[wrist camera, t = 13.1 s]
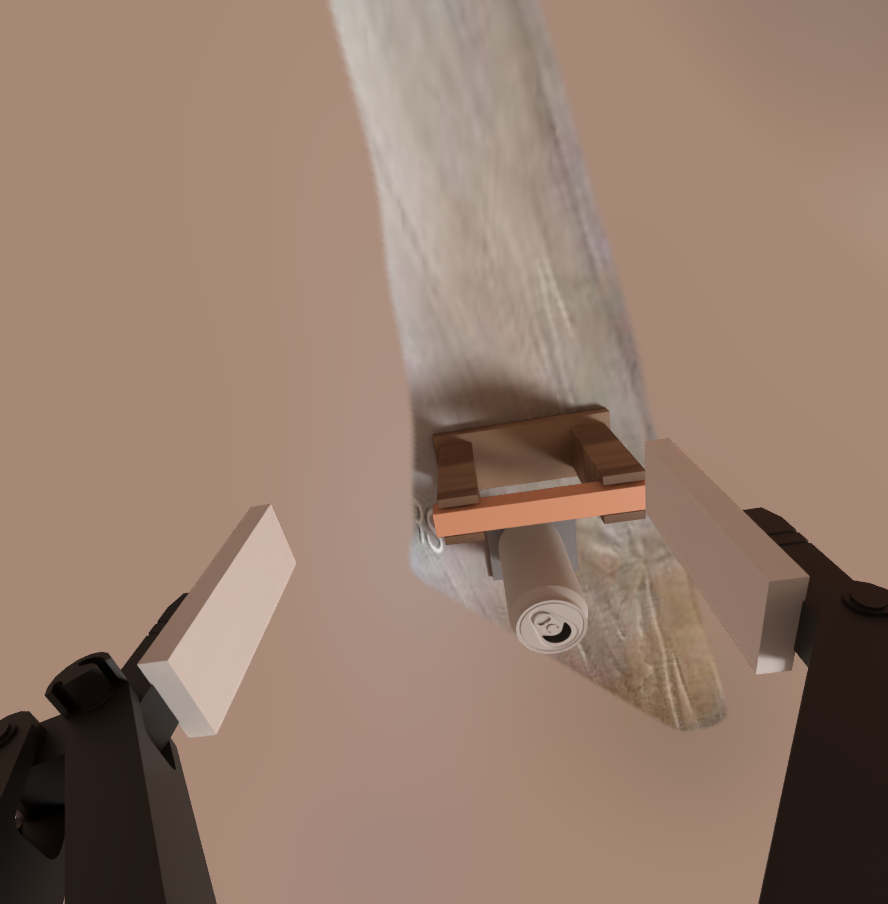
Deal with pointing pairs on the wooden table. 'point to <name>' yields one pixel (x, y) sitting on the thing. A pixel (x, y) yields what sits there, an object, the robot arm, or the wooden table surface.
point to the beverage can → (541, 589)
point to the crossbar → (540, 507)
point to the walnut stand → (532, 459)
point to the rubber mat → (563, 527)
